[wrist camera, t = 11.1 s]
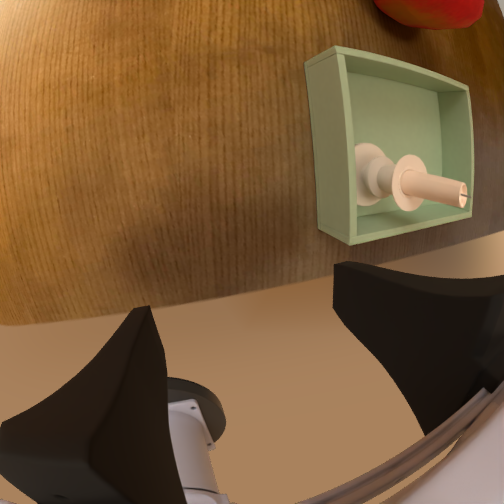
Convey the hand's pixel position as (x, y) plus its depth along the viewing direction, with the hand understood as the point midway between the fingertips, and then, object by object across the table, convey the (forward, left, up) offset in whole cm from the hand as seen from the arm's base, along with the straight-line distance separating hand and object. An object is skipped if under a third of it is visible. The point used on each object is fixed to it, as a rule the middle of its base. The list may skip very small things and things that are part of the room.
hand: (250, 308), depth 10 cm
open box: (+6, -17, -10) cm, 20 cm away
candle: (+3, -13, -10) cm, 17 cm away
